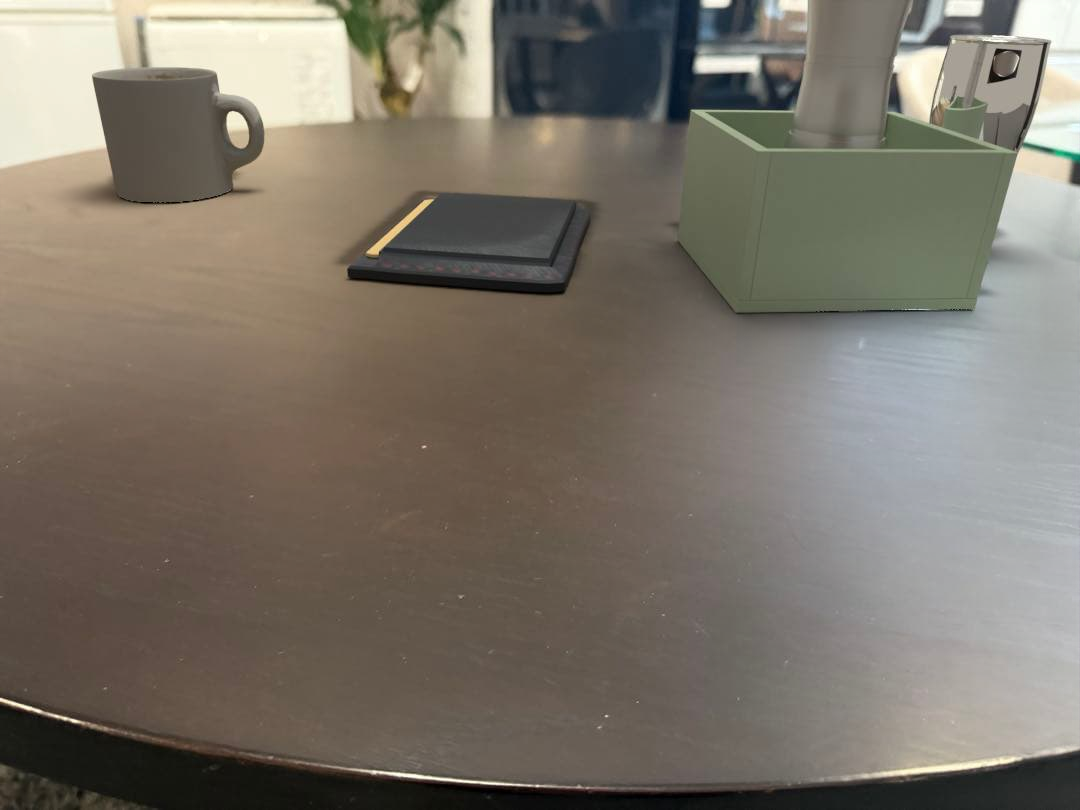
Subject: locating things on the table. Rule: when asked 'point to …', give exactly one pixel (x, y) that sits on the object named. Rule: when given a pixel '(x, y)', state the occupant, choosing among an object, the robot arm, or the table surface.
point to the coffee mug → (172, 133)
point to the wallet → (480, 244)
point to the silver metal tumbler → (990, 87)
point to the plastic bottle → (847, 74)
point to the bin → (840, 215)
